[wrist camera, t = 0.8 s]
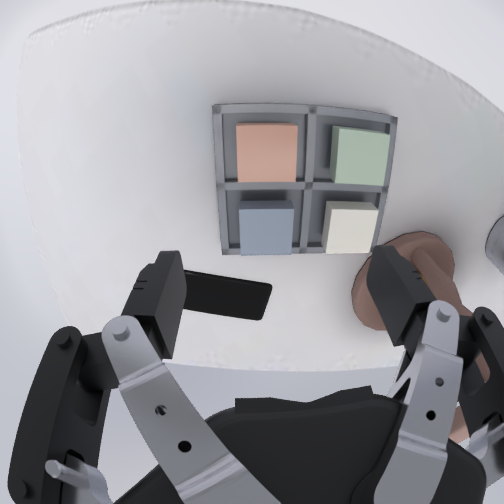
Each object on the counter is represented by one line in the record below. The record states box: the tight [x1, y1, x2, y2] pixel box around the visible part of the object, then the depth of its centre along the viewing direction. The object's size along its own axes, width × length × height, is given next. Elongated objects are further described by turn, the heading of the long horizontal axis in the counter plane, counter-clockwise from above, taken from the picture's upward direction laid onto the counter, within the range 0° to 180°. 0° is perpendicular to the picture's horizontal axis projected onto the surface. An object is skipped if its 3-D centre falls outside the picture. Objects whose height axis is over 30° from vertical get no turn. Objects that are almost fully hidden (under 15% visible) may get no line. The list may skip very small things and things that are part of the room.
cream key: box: [321, 201, 379, 254], centre depth 27 cm, size 5×5×2 cm
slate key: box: [239, 200, 294, 256], centre depth 27 cm, size 5×5×2 cm
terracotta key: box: [236, 123, 298, 182], centre depth 23 cm, size 5×5×2 cm
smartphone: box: [183, 270, 272, 320], centre depth 37 cm, size 7×1×15 cm
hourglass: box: [351, 232, 490, 444], centre depth 26 cm, size 18×18×25 cm
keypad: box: [212, 103, 398, 255], centre depth 27 cm, size 18×16×2 cm
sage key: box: [329, 126, 390, 186], centre depth 23 cm, size 5×5×2 cm
